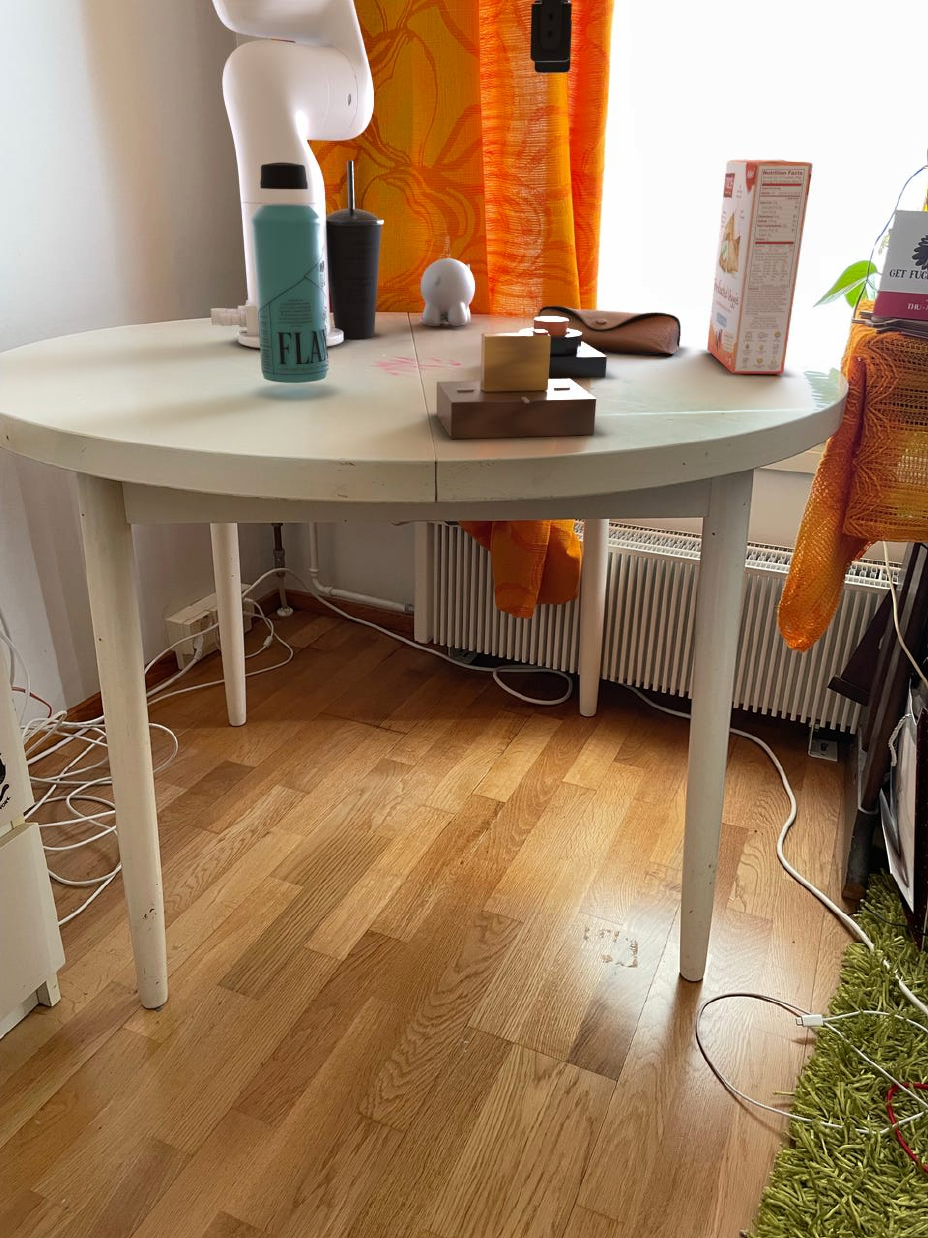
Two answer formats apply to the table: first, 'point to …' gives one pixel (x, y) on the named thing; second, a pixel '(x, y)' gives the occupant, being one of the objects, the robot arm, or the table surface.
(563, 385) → the brown wooden base
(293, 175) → the beverage bottle
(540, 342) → the tan cardboard box
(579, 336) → the block
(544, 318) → the bell button
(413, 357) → the table surface
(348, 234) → the drinking cup
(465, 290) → the round bodied animal figurine
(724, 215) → the cracker box
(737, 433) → the table surface
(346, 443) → the table surface
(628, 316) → the sunglasses case
